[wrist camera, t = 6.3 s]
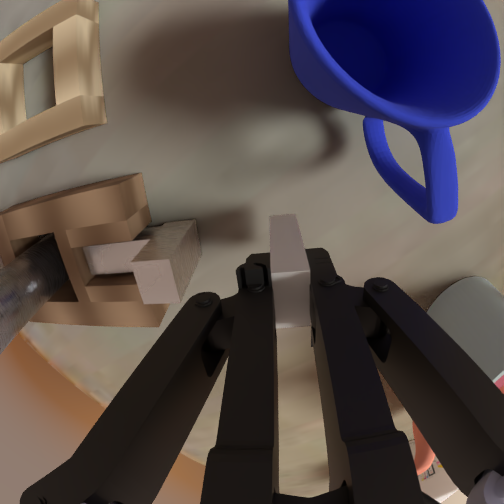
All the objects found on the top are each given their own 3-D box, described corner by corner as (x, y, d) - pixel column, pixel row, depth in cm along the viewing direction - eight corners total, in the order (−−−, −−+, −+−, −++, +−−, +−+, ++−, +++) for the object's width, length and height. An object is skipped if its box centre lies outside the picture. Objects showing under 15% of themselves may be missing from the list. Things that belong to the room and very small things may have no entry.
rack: (9, 54, 14) (-14, 53, 11) (98, 2, 13) (77, -9, 10) (17, 157, 18) (-7, 165, 15) (107, 123, 17) (83, 125, 14)
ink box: (426, 452, 35) (440, 504, 25) (382, 465, 36) (392, 521, 26) (440, 429, 32) (460, 489, 21) (391, 445, 33) (406, 509, 22)
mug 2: (441, 273, 21) (506, 353, 12) (505, 278, 21) (564, 339, 11) (388, 386, 26) (413, 464, 17) (452, 379, 26) (483, 443, 17)
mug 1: (315, 191, 19) (359, 263, 10) (260, 17, 14) (253, -68, 5) (425, 166, 17) (524, 212, 8) (378, 1, 13) (453, -60, 3)
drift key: (195, 219, 20) (168, 258, 14) (202, 254, 21) (180, 302, 15) (97, 231, 20) (53, 268, 15) (106, 262, 21) (67, 304, 16)
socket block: (141, 172, 18) (118, 184, 15) (172, 299, 23) (158, 327, 19) (14, 205, 20) (-12, 219, 17) (48, 301, 24) (29, 321, 21)
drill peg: (42, 232, 21) (-80, 334, 7) (74, 226, 20) (-62, 343, 7) (56, 273, 22) (-47, 386, 9) (89, 270, 22) (-21, 403, 8)
